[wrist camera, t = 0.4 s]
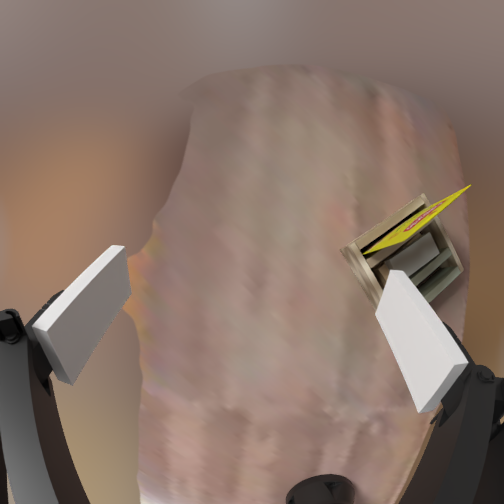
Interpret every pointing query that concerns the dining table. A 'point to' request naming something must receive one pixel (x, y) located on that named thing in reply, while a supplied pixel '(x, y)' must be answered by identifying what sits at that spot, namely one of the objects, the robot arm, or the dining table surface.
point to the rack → (363, 264)
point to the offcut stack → (407, 257)
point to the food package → (411, 224)
